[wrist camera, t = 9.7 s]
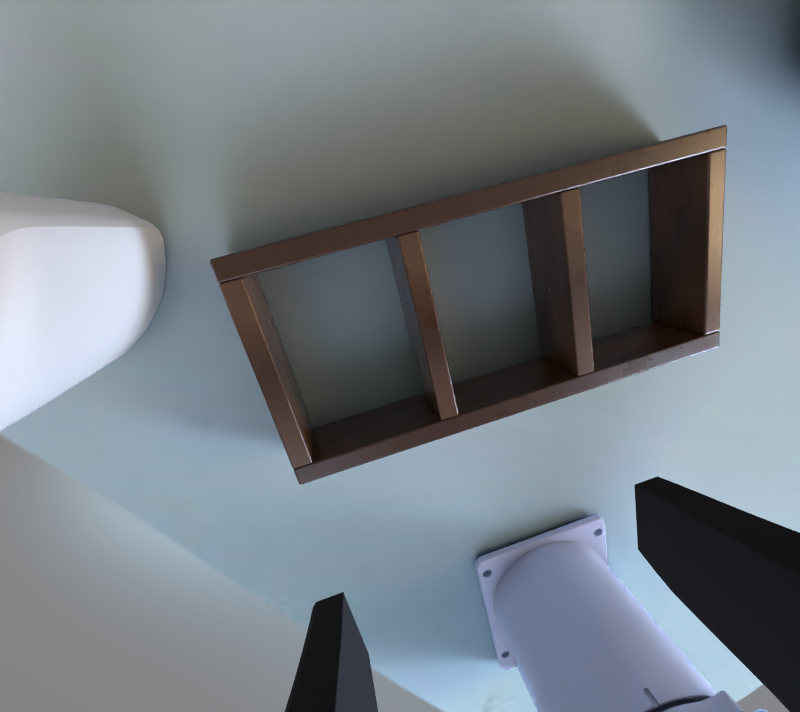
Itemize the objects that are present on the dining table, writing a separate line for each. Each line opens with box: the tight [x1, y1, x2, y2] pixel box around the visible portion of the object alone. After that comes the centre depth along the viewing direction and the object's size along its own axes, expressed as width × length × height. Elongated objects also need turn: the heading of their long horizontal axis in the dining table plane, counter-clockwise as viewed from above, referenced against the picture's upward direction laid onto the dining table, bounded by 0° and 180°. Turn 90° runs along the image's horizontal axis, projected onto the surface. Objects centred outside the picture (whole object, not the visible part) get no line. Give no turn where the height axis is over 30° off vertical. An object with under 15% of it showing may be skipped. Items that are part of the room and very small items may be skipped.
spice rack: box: [210, 125, 727, 484], centre depth 17 cm, size 9×19×3 cm, turn 104°
